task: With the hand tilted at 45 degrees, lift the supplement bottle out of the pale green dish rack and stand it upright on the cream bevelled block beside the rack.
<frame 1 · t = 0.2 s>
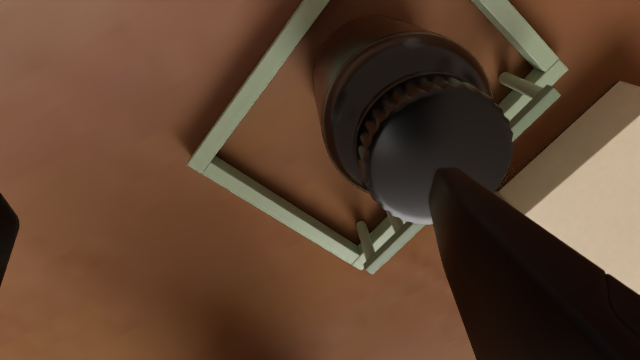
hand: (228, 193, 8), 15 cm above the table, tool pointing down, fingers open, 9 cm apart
cream bevelled block: (619, 205, 29), on the table
dish rack: (370, 111, 24), on the table
supplement bottle: (368, 76, 23), resting in dish rack
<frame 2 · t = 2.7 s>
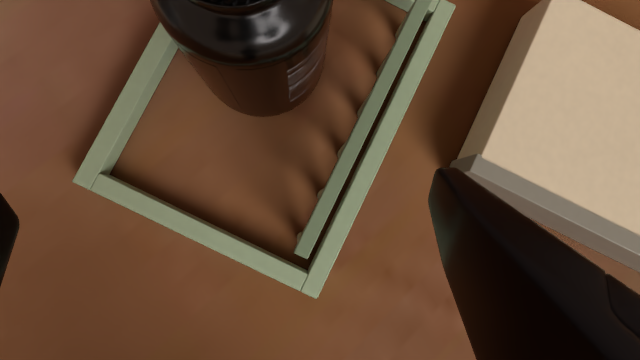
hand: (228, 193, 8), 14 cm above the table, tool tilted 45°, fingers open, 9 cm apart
cream bevelled block: (614, 153, 23), on the table
dish rack: (274, 95, 22), on the table
supplement bottle: (262, 61, 22), resting in dish rack
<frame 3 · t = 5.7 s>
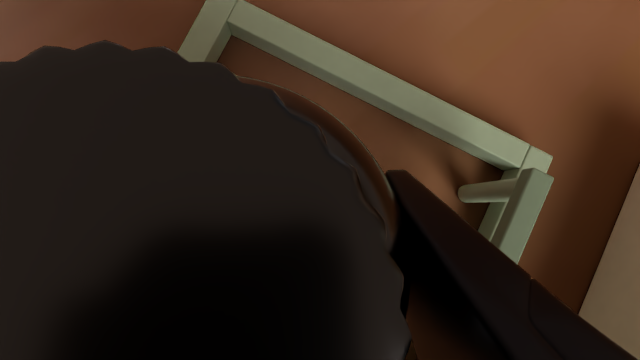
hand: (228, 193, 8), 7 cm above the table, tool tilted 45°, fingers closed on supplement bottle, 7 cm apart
dish rack: (277, 290, 15), on the table
supplement bottle: (260, 236, 15), resting in dish rack, touching gripper
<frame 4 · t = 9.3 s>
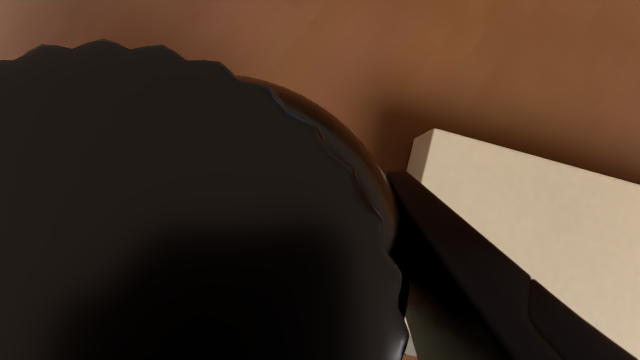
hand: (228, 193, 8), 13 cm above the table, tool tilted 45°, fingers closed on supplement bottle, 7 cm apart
cream bevelled block: (535, 261, 22), on the table
supplement bottle: (259, 235, 15), point 6 cm above the table, touching gripper
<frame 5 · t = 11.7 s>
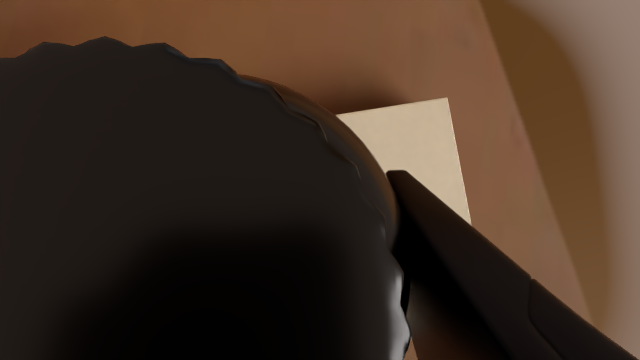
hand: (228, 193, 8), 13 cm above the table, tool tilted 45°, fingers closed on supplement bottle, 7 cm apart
cream bevelled block: (290, 227, 21), on the table
supplement bottle: (260, 235, 15), point 6 cm above the table, touching gripper
when the fingers open (10 cm above the table, at t = 13.2 s): supplement bottle stays where it is, resting on cream bevelled block.
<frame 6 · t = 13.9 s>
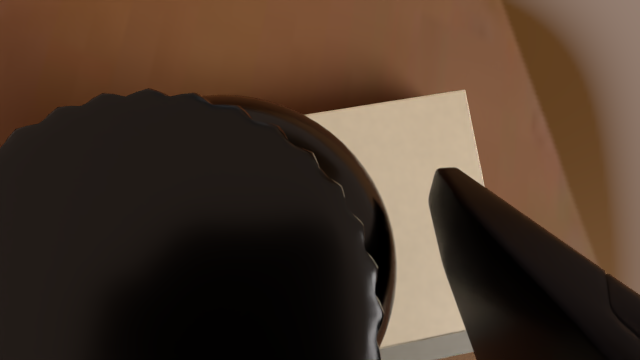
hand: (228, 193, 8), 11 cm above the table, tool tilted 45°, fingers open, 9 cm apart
cream bevelled block: (289, 234, 19), on the table
supplement bottle: (263, 236, 16), point 3 cm above the table, touching cream bevelled block
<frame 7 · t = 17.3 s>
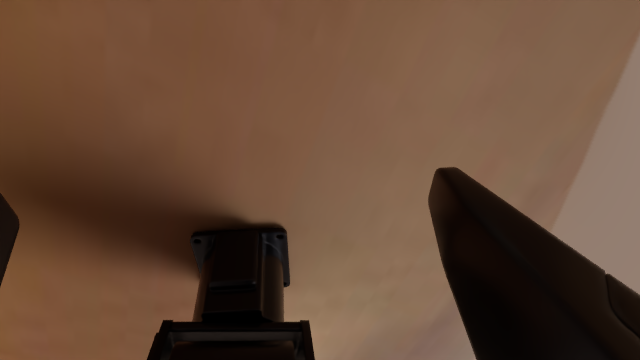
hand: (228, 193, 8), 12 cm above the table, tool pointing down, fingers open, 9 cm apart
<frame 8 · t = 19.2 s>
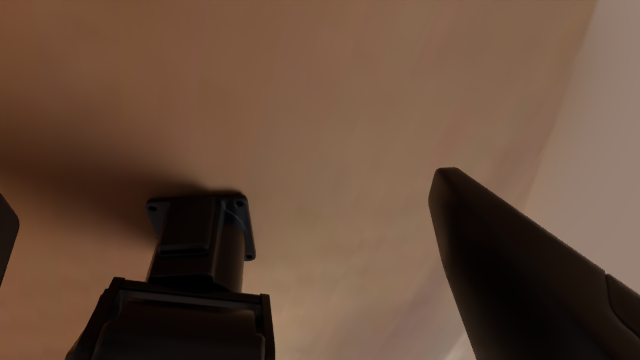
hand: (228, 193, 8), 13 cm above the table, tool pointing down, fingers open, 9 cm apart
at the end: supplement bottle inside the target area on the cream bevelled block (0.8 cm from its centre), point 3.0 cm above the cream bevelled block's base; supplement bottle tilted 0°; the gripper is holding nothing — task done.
